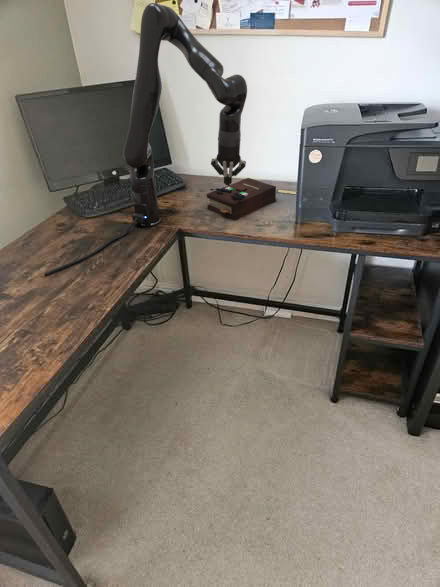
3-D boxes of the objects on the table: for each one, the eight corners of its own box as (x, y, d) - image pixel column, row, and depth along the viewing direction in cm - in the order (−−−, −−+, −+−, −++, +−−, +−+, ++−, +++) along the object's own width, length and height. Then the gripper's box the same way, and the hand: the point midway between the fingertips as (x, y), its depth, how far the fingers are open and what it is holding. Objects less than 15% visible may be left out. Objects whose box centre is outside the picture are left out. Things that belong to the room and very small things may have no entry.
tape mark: (296, 194, 182) (296, 193, 182) (277, 192, 185) (277, 191, 185) (297, 192, 184) (297, 191, 184) (279, 190, 187) (279, 189, 187)
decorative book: (281, 183, 173) (231, 205, 157) (281, 200, 177) (232, 222, 162) (249, 174, 185) (200, 193, 169) (250, 189, 189) (201, 209, 174)
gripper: (249, 136, 138) (245, 179, 151) (211, 133, 138) (211, 177, 151) (248, 147, 133) (244, 191, 146) (208, 144, 133) (208, 188, 146)
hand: (227, 184), depth 149 cm, fingers closed
